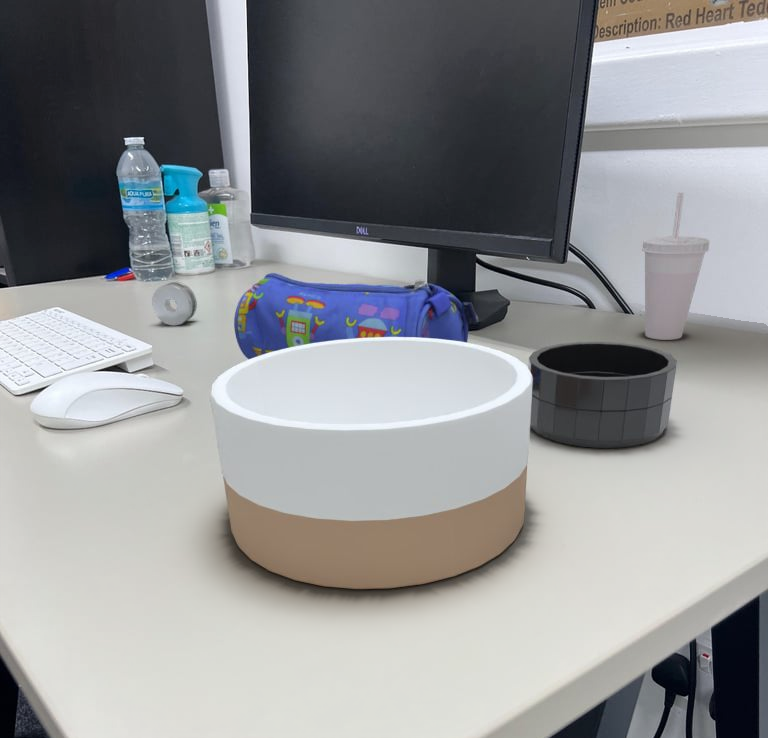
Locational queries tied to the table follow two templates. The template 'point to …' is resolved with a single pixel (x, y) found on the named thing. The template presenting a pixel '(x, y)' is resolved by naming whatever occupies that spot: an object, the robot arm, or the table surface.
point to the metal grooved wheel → (183, 301)
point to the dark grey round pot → (601, 393)
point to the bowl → (374, 458)
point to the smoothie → (671, 279)
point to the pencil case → (344, 313)
